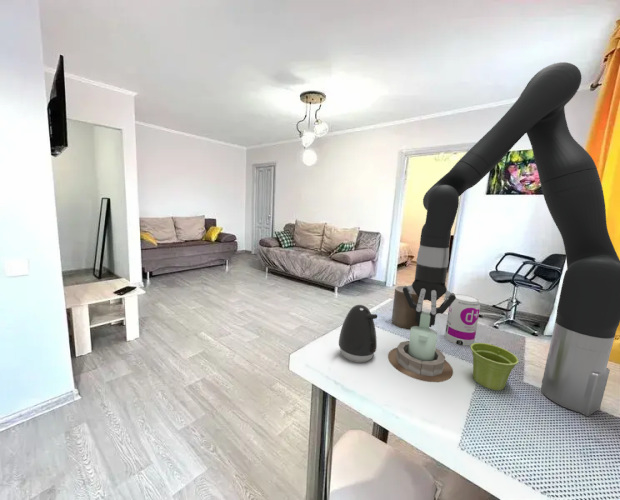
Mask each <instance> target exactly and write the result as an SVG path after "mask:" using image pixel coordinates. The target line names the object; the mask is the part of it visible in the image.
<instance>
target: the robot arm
mask: <svg viewBox="0 0 620 500" xmlns="http://www.w3.org/2000/svg"><path fill="white" fill-rule="evenodd" d="M581 83H582V73H581V70H580V69H579V67H578V66H576V65H575V64H573V63H570V62H566V61H564V62H561V61H560V62H556V63H555V62H554V63H552V64H550V65H547V66H545V67H543V68H542V69H540V70H539V71H537V72H536V74H534V76H532V78H531V79H530V80H529V81H528V82H527V84H526V85H525V87H524V89H523V90H522V92H521V94H520V95H519V97H518V98H517V100H516V101H515V102H514V103H513V104H512V106H511V107H510V108H509V109H508V110H507V111H506V112H505V114H504V115H503V116H502V117H501V118H500V120H498V121H497V122H496V123H495V124H494V125H493V126H492V127H491V128H490V129H489V131H487V132H486V133H485V134H484V135H483V136H482V137H481V138H480V139H479V140H478V141H477V142H476V143H475V144H473V146H472V147H471V148H470V149H469V150H468V151H467V152H466V153H465V154H464V155H463V156H462V157H460V159H459V160H458V161H457V162H456V163H455V165H453V167H452V168H451V169H450V170H449V171H448V172H447V173H446V174H444V175H443V176H442V177H441V178H440V179H439V180H437V182H436V183H434V184H433V185H432V186H431V187H430V188H428V190H427V191H426V192H425V193H424V195H423V197H422V198H423V199H422V204H423V207H424V209H425V210H426V215H425V216H426V218H425V222H424V224H423V226H422V228H421V233H420V238H419V245H418V250H417V254H416V255H417V257H416V264H415V274H414V281H412V283H411V284H410V285H403V286H404V287H403V292H404V295H405V297H406V299H407V302H408V304H409V306H410V308H413V309H415V310H416V317H415V321H416V322H418V325H420V317H421V314H422V311H423V305H422V304H423V303H424V301H428V302H431V303H430V311H429V312H430V315H431V316H430V324H429V328H431V327H432V326H434V325H435V324H436V317H437V315H438V314H441V315H442V314H444V313H445V312H446V311H447V310H448V309H449V306H450V305H451V304H452V302H453V301H454V300H455V299H456V297H455V294H456V293H453V292H450V291H449V290H447V286H446V282H447V281H446V280H447V275H448V274H447V273H448V268H449V263H450V262H449V260H450V259H449V258H450V245H451V244H450V243H451V237H452V235H451V234H452V228H453V226H454V224H455V220H456V217H457V213H458V209H459V205H460V196H462V195H463V194H464V193H465V192H466V191H467V190H469V189H472V188H473V187H474V186H476V185H478V183H479V182H481V180H483V179H484V178H485V176H487V175H488V174H489V173H490V172H491V171H492V170H493V169H494V168H495V167H496V166H497V165H498V164H499V163H500V161H502V159H503V158H504V157H505V156H507V154H508V153H509V152H510V150H511V149H512V148H513V147H514V146H515V145H516V144H517V143H518V142H519V140H521V138H523V136H524V135H527V137H528V140H529V142H530V146H531V149H532V154H533V157H534V162H535V167H536V171H537V175H538V178H539V183H540V187H541V190H542V191H541V192H542V194H543V198H544V201H545V204H546V207H547V209H548V211H549V214H550V216H551V218H552V221H553V222H554V223H555V225H556V228H557V229H558V231H559V234H560V236H561V239H562V242H563V246H564V252H565V253H564V254H565V260H566V271H565V272H564V276H563V278H562V284H561V290H560V293H559V299H558V303H557V307H556V317H555V321H554V324H553V325H554V326H553V328H552V329H553V331H552V334H551V337H550V338H551V339H550V343H549V348H548V353H547V357H546V362H545V367H544V372H543V376H542V379H541V386H540V391H541V393H542V394H543V395H544V396H545V397H546V398H547V399H549V400H551V401H552V402H554V403H555V404H557V405H559V406H561V407H564V408H566V409H569V410H571V411H573V412H577V413H580V414H583V415H585V416H587V417H588V416H591V415H592V414H594V413H595V412H596V411H598V410H600V409H601V407H602V403H603V400H604V394H605V391H606V387H607V384H608V379H609V375H610V373H611V372H610V371H611V370H610V368H609V367H608V364H609V360H610V356H611V352H612V347H613V343H614V340H615V337H616V334H617V329H618V327H620V326H619V325H620V257H619V256H618V253H617V252H616V248H615V247H614V244H613V241H612V239H611V236H610V234H609V230H608V226H607V225H608V224H607V213H606V202H605V201H606V200H605V196H604V190H603V185H602V182H601V178H600V174H599V171H598V167H597V165H596V163H595V161H594V159H593V157H592V156H591V155H590V153H589V152H588V151H587V150H586V149H585V148H584V147H583V146H582V145H580V144H579V143H578V142H577V141H576V139H575V138H574V137H573V136H572V134H571V131H570V130H569V126H568V123H567V118H566V112H565V110H566V109H565V106H567V104H568V103H569V102H570V101H571V100H572V99H573V98H574V97H575V95H576V93H578V90H579V88H580V86H581ZM412 289H414V291H415V293H416V294H417V296H418V297H419V299H418V303H417V304H416V303H414V300H413V298H412V296H411V293H412ZM442 296H444V300H443V301H442V303H441V304H440V305H439V306H438V307H437V301H439V299H440V298H441V297H442ZM421 308H422V310H421Z"/></svg>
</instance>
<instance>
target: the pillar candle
mask: <svg viewBox="0 0 620 500" xmlns="http://www.w3.org/2000/svg"><path fill="white" fill-rule="evenodd" d="M404 286H405V285H399V286H396V287H394V295H393V297H394V298H393V305H392V313H391V325H394V326H395V327H398V328H400V329H403V330H410V331H411V327H413V326H419V325H418V322H416V321H415V317H416V310H415V309H413V308H410V306H409V304H408V302H407V299H406V297H405V295H404V292H403V287H404ZM411 296H412V298H413V300H414V303H416V304H417V303H418V299H419V297H418V296H417V294H416V293H415V291H414V289H412V293H411ZM422 306H423V304H422ZM421 310H422V311H423V307H422V308H421Z"/></svg>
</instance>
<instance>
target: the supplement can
mask: <svg viewBox="0 0 620 500" xmlns="http://www.w3.org/2000/svg"><path fill="white" fill-rule="evenodd" d="M454 294H455V297H456V299H455V300H454V301H453V302H452V304H451V305H450V306H449V307H448V312H447V318H446V324H445V325H446V326H445V333H444V338H445V339H446V340H448V341H449V342H450V343H452V344H455V345H459V346H462V347H463V346H465V347H469V346H470V347H471V345H472V344H473V343H475V341H476V340H475V339H476V334H477V327H478V324H479V323H478V322H479V318H480V317H479V315H480V311H481V303H480V302H479V299H478V298H477V297H475V296H472V295H467V294H463V293H461V294H460V293H457V294H456V293H454Z"/></svg>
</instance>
